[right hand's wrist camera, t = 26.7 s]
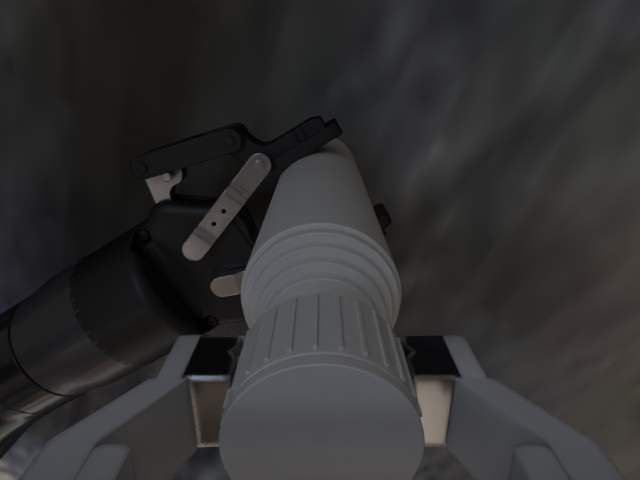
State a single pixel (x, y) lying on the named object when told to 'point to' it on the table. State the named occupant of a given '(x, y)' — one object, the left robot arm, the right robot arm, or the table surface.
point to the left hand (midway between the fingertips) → (362, 170)
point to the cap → (321, 397)
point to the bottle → (321, 240)
